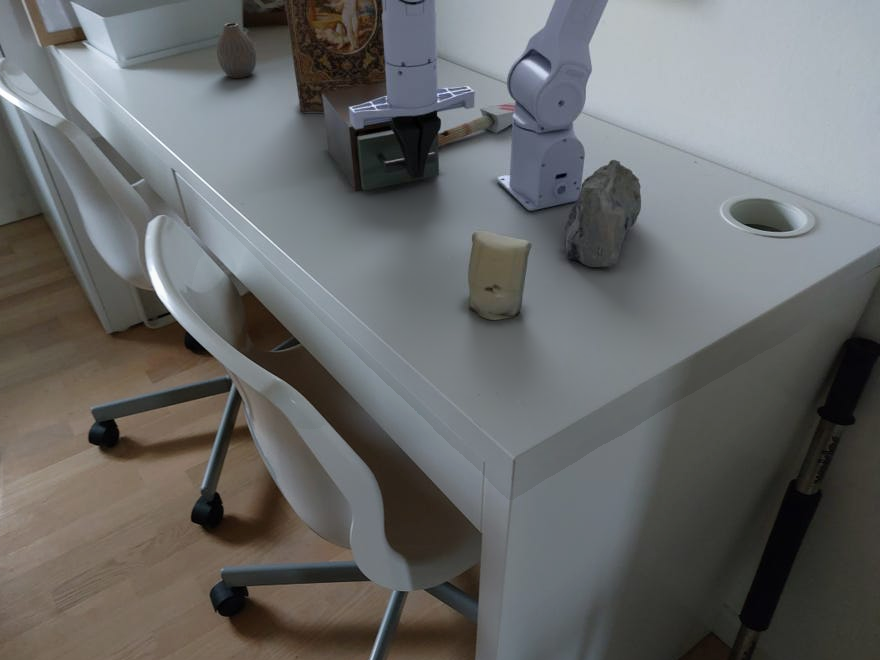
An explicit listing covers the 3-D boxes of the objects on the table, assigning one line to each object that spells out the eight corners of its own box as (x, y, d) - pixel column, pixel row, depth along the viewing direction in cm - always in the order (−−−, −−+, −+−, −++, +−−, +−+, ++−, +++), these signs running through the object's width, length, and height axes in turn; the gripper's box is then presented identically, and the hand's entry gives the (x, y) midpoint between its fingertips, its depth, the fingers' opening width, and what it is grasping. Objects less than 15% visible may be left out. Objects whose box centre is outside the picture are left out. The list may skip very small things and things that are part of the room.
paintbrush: (546, 96, 108) (440, 137, 100) (545, 114, 109) (440, 155, 102) (529, 89, 110) (424, 128, 103) (528, 107, 112) (425, 146, 104)
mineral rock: (619, 207, 87) (632, 126, 80) (685, 245, 79) (705, 160, 73) (532, 236, 82) (539, 153, 76) (593, 279, 75) (606, 192, 69)
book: (297, 113, 116) (271, -63, 100) (304, 101, 120) (280, -70, 104) (397, 111, 114) (387, -68, 98) (400, 99, 119) (391, -75, 103)
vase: (217, 73, 134) (207, 23, 128) (253, 66, 136) (244, 17, 130) (226, 83, 129) (216, 32, 124) (263, 76, 131) (254, 25, 126)
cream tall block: (517, 290, 74) (522, 222, 69) (532, 319, 70) (538, 249, 65) (463, 297, 74) (464, 229, 69) (475, 327, 70) (477, 257, 65)
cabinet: (437, 174, 96) (436, 111, 91) (355, 191, 94) (348, 127, 88) (403, 137, 106) (401, 79, 101) (328, 152, 104) (321, 92, 98)
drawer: (451, 188, 91) (451, 137, 86) (373, 205, 88) (369, 152, 84) (407, 140, 103) (405, 93, 99) (338, 154, 101) (332, 106, 96)
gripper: (457, 39, 82) (457, 151, 91) (337, 58, 79) (349, 172, 88) (483, 56, 77) (480, 173, 86) (355, 77, 74) (365, 197, 83)
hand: (415, 174), depth 86 cm, fingers closed, pressing on drawer
